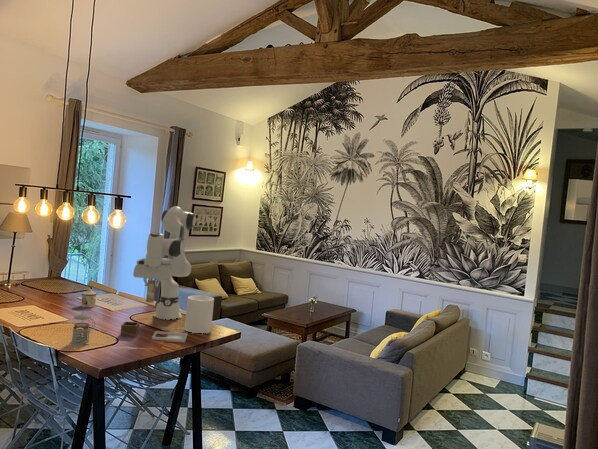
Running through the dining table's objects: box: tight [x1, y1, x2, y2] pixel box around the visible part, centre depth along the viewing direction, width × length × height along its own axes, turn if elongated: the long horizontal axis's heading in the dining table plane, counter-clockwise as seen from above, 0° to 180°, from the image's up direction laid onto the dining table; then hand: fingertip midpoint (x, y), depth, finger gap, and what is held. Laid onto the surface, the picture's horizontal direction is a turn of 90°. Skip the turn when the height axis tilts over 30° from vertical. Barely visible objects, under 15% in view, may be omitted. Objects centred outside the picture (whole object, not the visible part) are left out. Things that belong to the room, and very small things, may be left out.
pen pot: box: [119, 320, 140, 338], centre depth 245 cm, size 8×8×7 cm
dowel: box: [145, 279, 157, 304], centre depth 246 cm, size 4×4×12 cm
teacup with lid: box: [80, 288, 97, 309], centre depth 299 cm, size 12×9×12 cm
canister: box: [184, 294, 215, 335], centre depth 270 cm, size 16×16×20 cm
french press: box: [69, 295, 96, 347], centre depth 226 cm, size 10×12×25 cm
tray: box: [151, 330, 189, 343], centre depth 248 cm, size 12×18×2 cm, turn 99°
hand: (151, 286), depth 246 cm, fingers closed on dowel, 4 cm apart
